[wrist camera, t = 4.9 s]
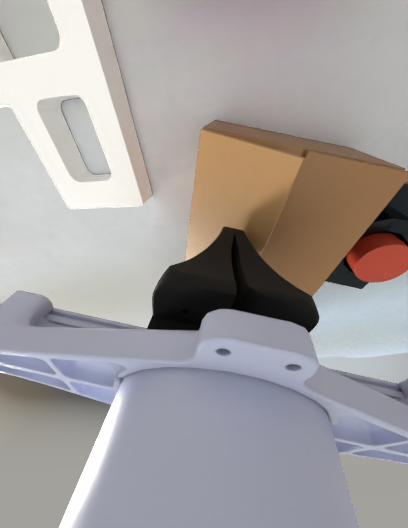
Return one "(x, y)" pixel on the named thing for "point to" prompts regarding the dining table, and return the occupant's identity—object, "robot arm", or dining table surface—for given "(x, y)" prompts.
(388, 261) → the button
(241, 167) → the flap
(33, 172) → the dining table surface
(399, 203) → the block
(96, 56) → the holder
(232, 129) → the carton
